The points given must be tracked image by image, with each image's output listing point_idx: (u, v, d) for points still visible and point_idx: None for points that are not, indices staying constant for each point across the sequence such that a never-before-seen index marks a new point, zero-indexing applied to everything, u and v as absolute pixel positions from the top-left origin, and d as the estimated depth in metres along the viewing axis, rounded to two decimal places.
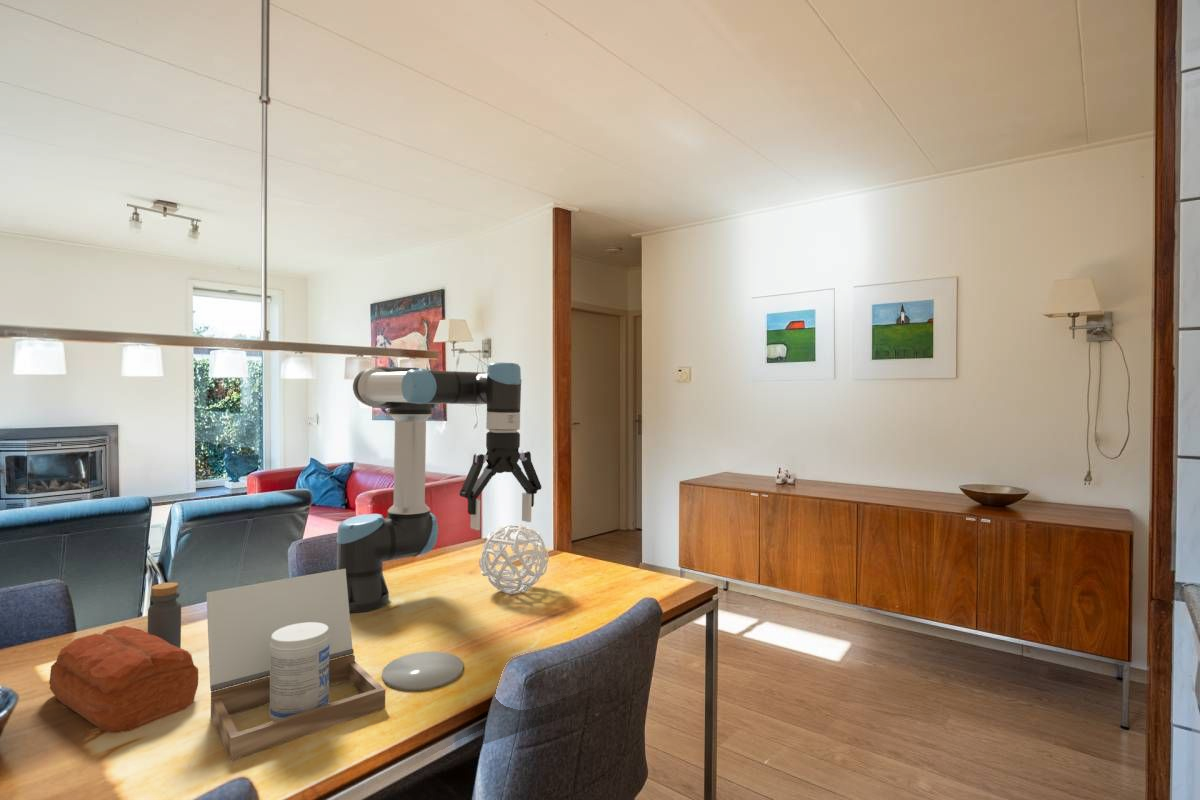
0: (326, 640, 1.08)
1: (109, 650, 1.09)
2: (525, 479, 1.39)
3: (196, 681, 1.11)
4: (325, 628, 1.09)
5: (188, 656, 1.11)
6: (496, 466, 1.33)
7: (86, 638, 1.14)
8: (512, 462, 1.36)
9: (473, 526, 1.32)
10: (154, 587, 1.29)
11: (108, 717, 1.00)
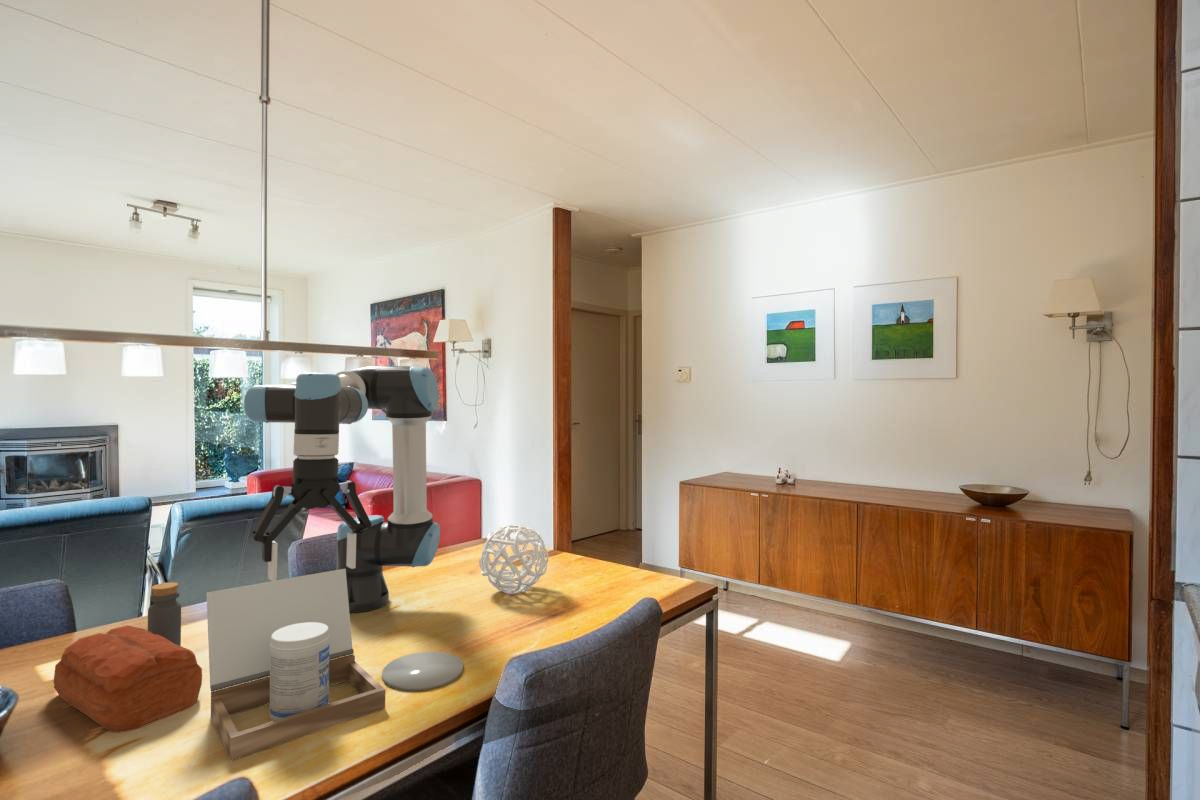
0: (326, 640, 1.08)
1: (113, 649, 1.09)
2: (347, 516, 1.14)
3: (200, 680, 1.11)
4: (325, 628, 1.09)
5: (192, 655, 1.11)
6: (302, 501, 1.08)
7: (90, 637, 1.14)
8: (326, 495, 1.10)
9: (269, 576, 1.06)
10: (154, 587, 1.29)
11: (112, 716, 1.00)
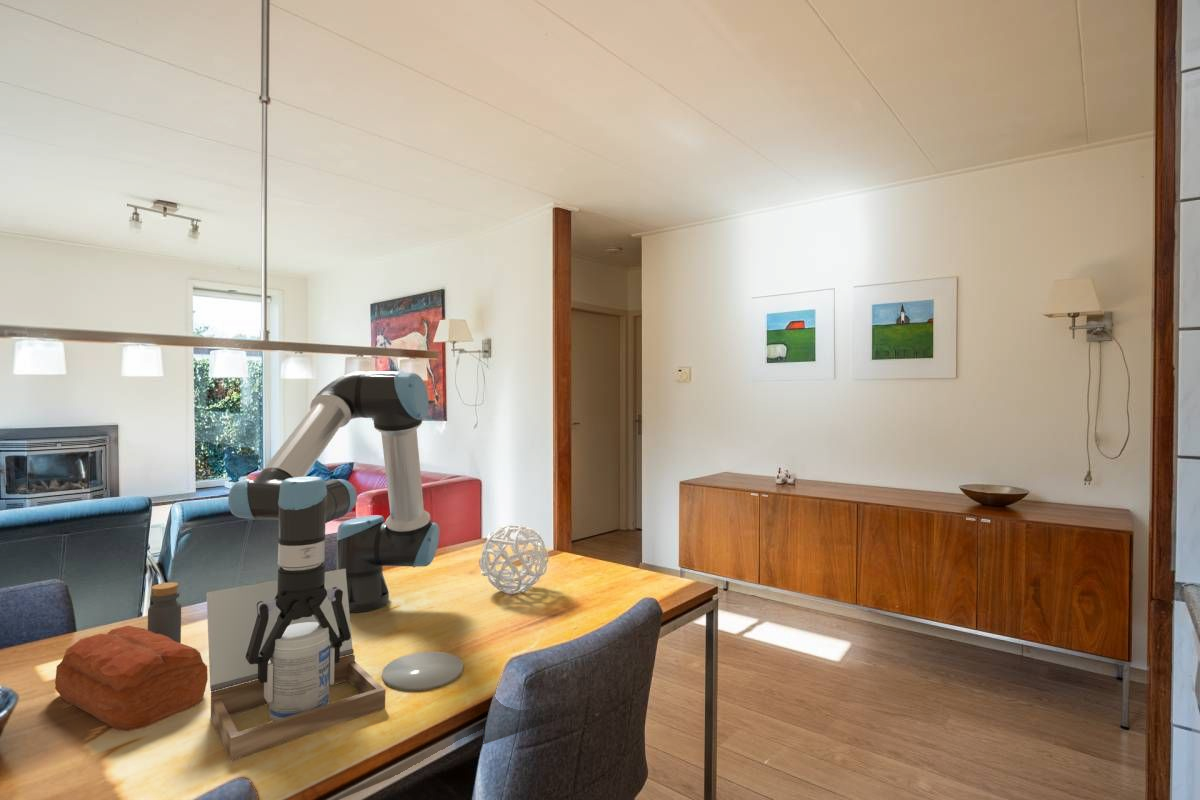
0: (326, 640, 1.08)
1: (117, 649, 1.09)
2: (328, 627, 1.10)
3: (205, 678, 1.12)
4: (325, 628, 1.09)
5: (198, 654, 1.12)
6: (289, 614, 1.05)
7: (92, 638, 1.14)
8: (311, 605, 1.07)
9: (265, 696, 1.04)
10: (154, 587, 1.29)
11: (121, 715, 1.01)
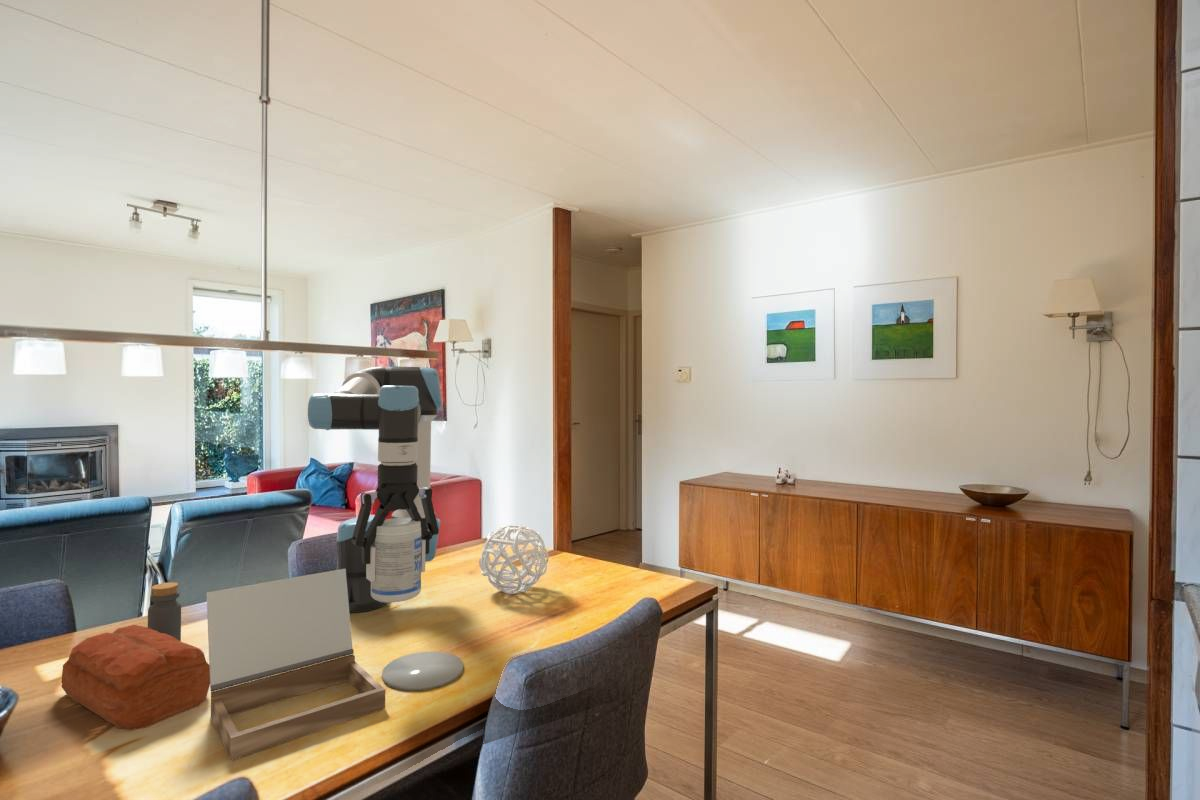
0: (419, 530, 1.20)
1: (122, 648, 1.10)
2: (420, 521, 1.22)
3: (209, 678, 1.12)
4: (418, 521, 1.21)
5: (201, 654, 1.12)
6: (388, 505, 1.17)
7: (97, 637, 1.14)
8: (407, 498, 1.19)
9: (368, 577, 1.17)
10: (154, 587, 1.29)
11: (124, 714, 1.01)
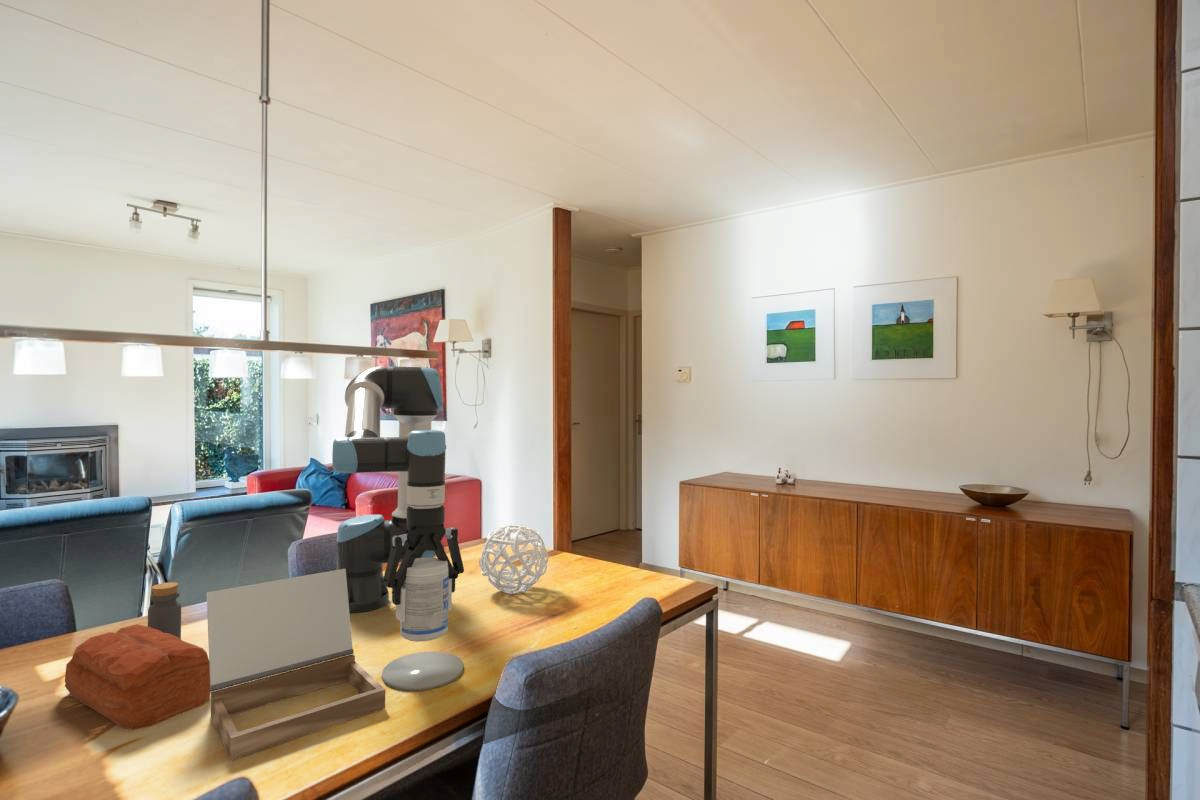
0: (447, 570, 1.24)
1: (125, 648, 1.10)
2: (447, 561, 1.26)
3: None
4: (445, 561, 1.26)
5: (204, 653, 1.12)
6: (417, 547, 1.22)
7: (101, 636, 1.15)
8: (435, 540, 1.24)
9: (398, 617, 1.21)
10: (154, 587, 1.29)
11: (127, 714, 1.01)
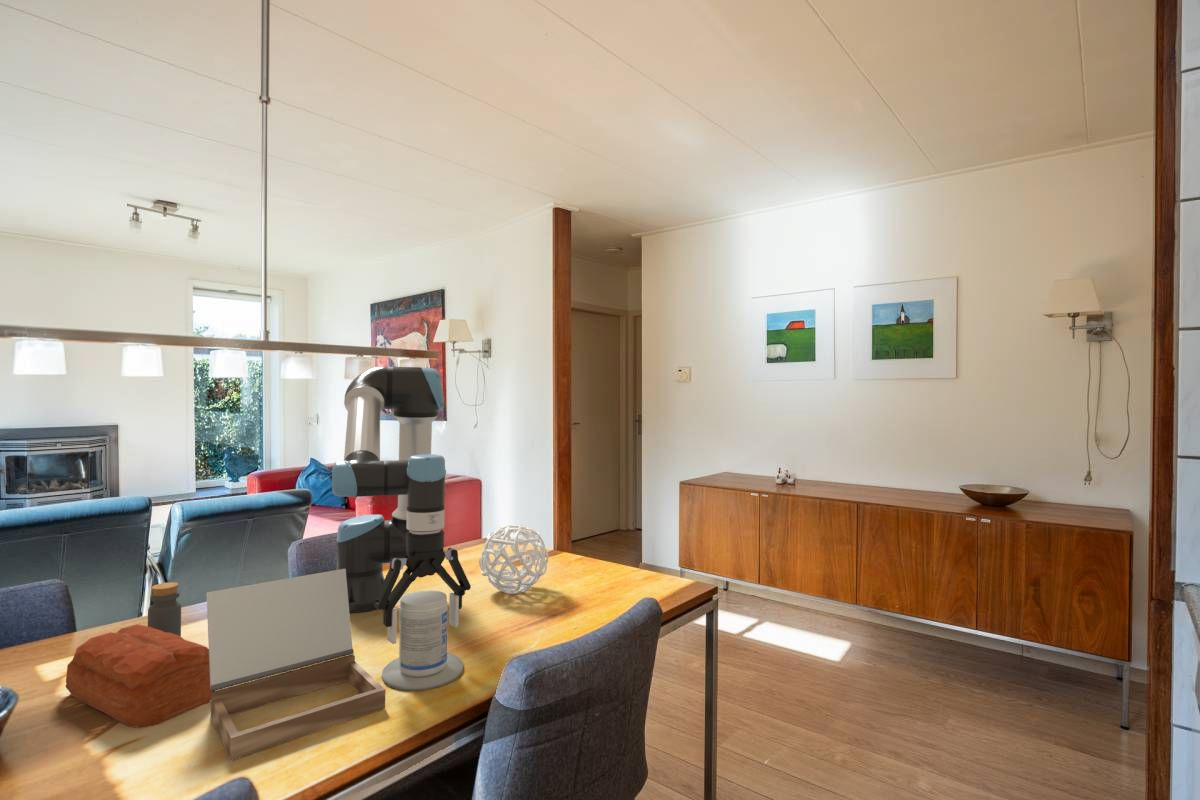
0: (446, 605, 1.24)
1: (129, 647, 1.10)
2: (451, 580, 1.27)
3: None
4: (444, 595, 1.26)
5: None
6: (416, 571, 1.21)
7: (102, 637, 1.15)
8: (435, 565, 1.24)
9: (389, 638, 1.20)
10: (154, 587, 1.29)
11: (134, 712, 1.02)
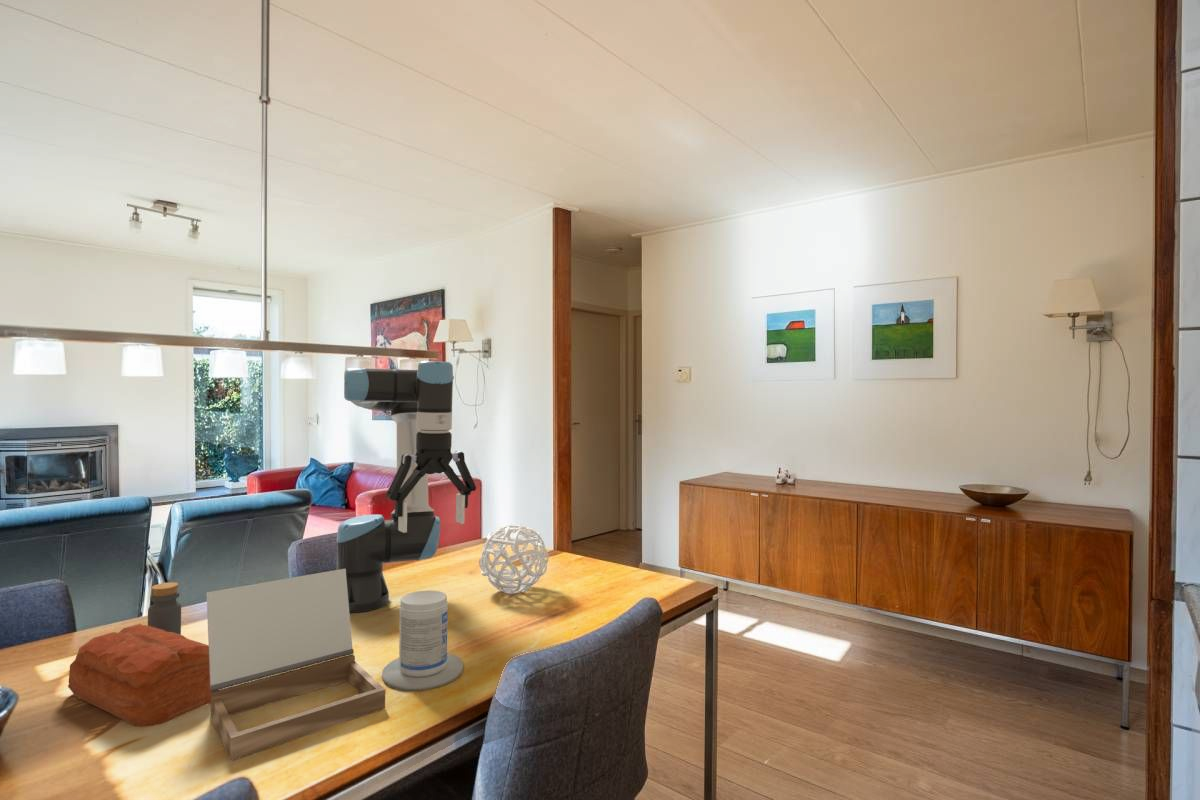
0: (446, 605, 1.24)
1: (132, 647, 1.10)
2: (458, 480, 1.36)
3: None
4: (444, 595, 1.26)
5: None
6: (425, 467, 1.30)
7: (105, 636, 1.15)
8: (443, 463, 1.33)
9: (400, 528, 1.29)
10: (154, 587, 1.29)
11: (140, 711, 1.02)
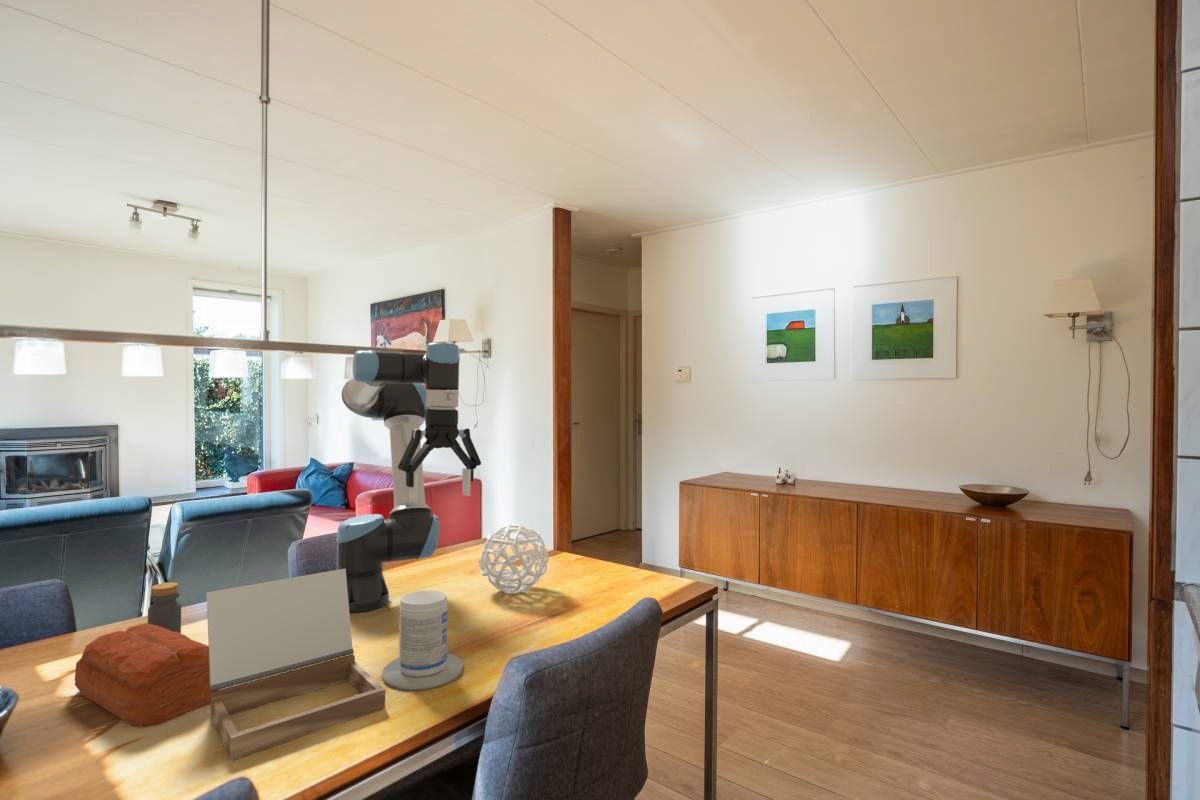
0: (446, 605, 1.24)
1: (134, 646, 1.11)
2: (464, 455, 1.46)
3: None
4: (444, 595, 1.26)
5: None
6: (434, 441, 1.40)
7: (110, 635, 1.15)
8: (450, 438, 1.42)
9: (411, 498, 1.38)
10: (154, 587, 1.29)
11: (137, 712, 1.02)
